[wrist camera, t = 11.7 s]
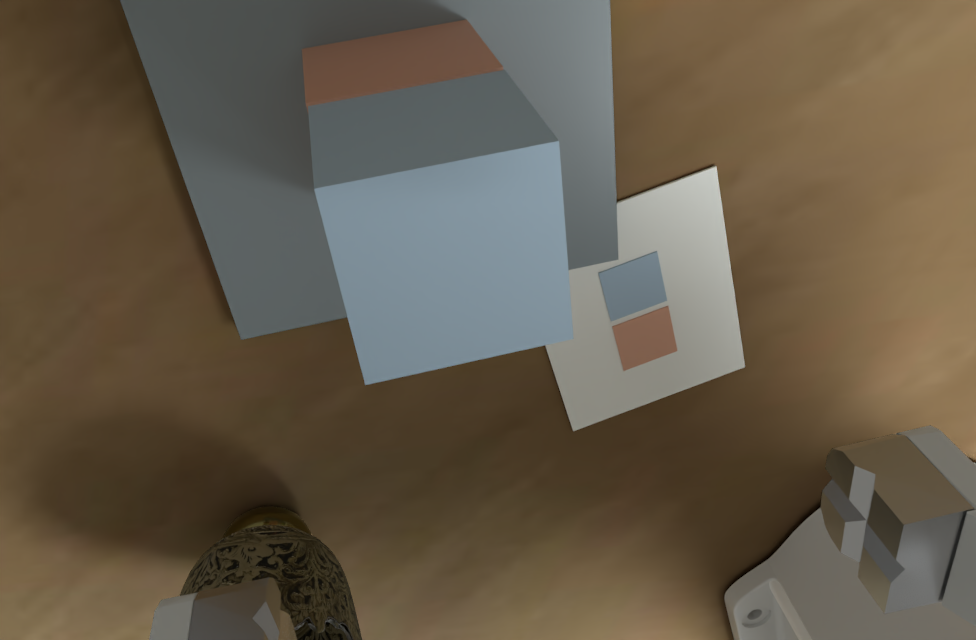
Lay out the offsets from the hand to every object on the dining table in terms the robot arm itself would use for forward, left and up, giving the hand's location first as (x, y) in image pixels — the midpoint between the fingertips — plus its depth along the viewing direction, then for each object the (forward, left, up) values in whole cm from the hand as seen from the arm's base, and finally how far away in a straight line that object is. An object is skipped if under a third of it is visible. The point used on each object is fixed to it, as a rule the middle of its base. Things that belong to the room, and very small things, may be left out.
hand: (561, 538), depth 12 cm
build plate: (0, 0, -18) cm, 18 cm away
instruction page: (-10, -8, -18) cm, 22 cm away
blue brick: (0, 0, -13) cm, 13 cm away
